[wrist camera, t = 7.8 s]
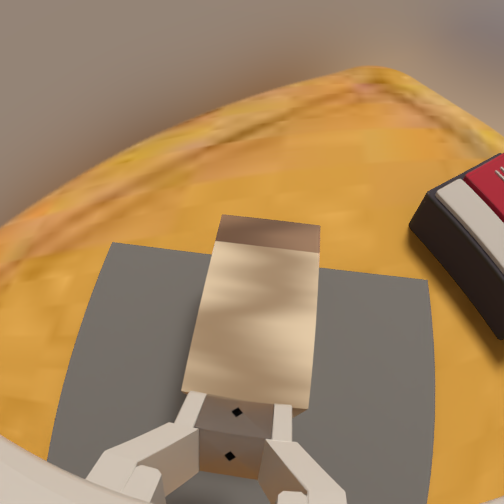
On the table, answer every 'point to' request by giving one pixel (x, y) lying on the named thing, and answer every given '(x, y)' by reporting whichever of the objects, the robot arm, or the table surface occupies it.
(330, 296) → the mat
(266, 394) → the block
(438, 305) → the table surface
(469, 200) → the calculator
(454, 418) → the table surface
